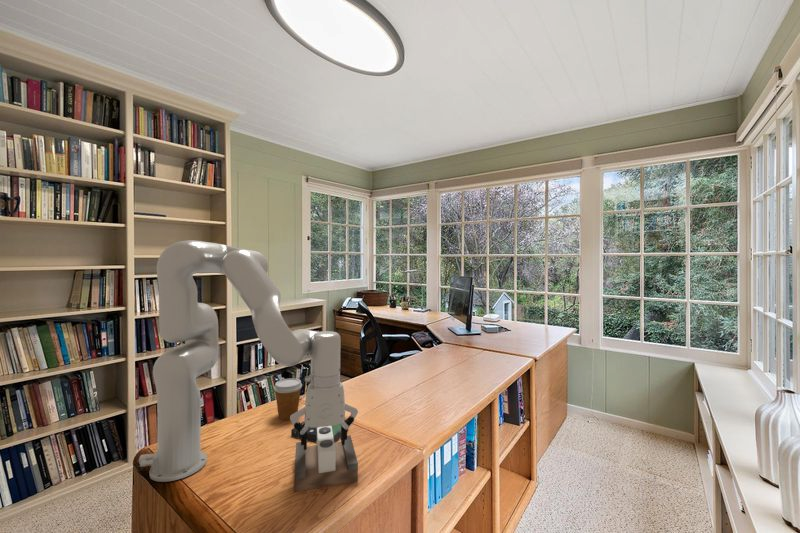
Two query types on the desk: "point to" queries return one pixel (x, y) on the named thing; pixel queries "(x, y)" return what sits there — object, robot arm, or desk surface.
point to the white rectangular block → (325, 449)
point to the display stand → (311, 478)
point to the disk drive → (313, 433)
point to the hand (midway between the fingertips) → (324, 444)
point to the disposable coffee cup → (287, 397)
